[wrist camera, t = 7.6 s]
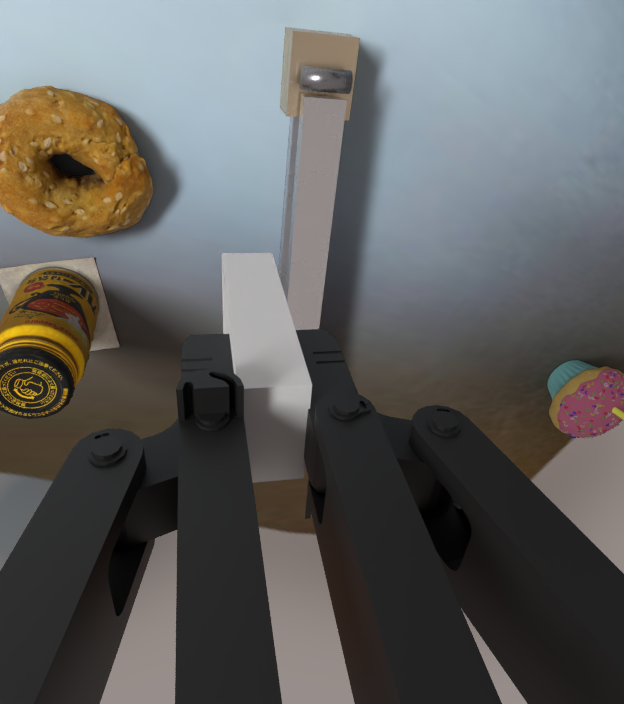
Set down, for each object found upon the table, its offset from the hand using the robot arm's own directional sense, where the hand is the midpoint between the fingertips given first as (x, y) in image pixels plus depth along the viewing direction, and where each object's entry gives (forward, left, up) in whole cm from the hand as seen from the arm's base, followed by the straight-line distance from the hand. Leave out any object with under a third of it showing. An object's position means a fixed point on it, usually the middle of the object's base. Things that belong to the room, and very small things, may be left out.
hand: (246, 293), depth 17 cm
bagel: (+9, +4, -27) cm, 29 cm away
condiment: (+12, +16, -27) cm, 33 cm away
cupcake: (-39, +25, -27) cm, 54 cm away
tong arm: (-7, +9, -23) cm, 26 cm away
